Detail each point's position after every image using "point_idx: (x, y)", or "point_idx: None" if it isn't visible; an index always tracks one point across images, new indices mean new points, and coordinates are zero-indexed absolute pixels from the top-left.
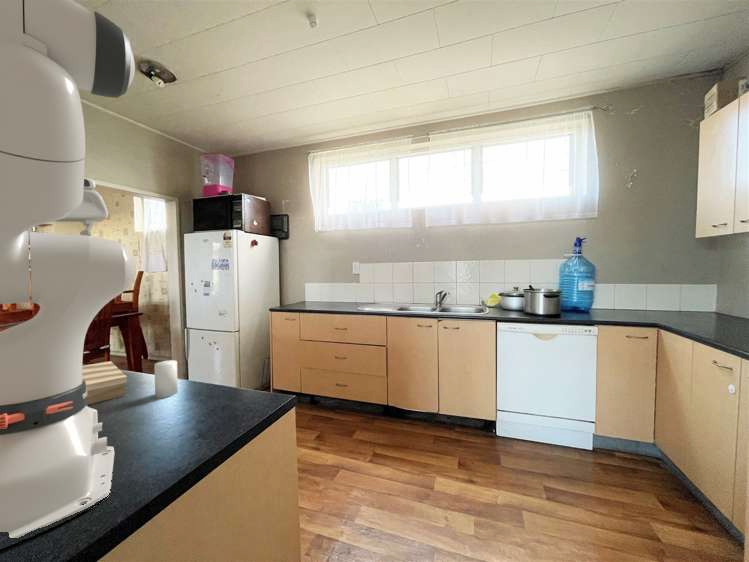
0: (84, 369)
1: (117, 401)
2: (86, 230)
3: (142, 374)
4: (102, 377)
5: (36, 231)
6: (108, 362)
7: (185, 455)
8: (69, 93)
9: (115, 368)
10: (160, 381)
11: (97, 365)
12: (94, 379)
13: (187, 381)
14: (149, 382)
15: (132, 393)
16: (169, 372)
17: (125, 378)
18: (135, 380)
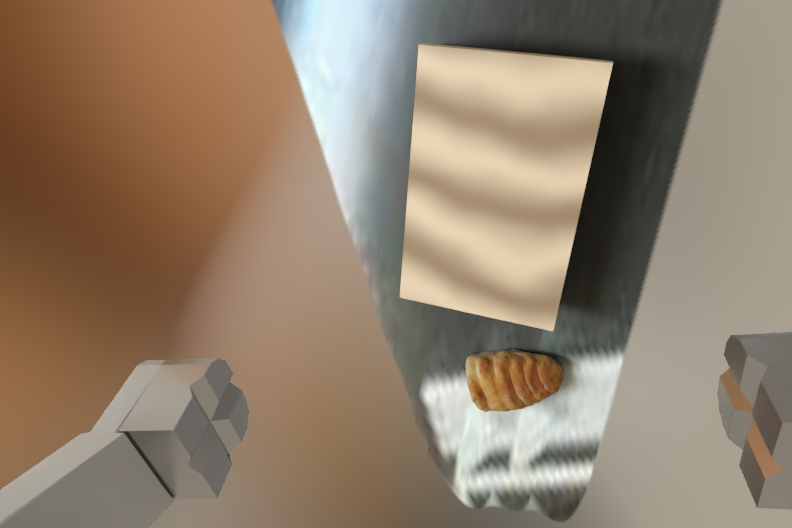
0: (475, 262)
1: (469, 5)
2: (132, 426)
3: (351, 221)
4: (468, 108)
5: (787, 415)
6: (408, 286)
7: None
8: None
9: (414, 189)
10: None
11: (438, 278)
12: (490, 105)
13: (283, 20)
14: (360, 118)
15: None
16: None
17: (424, 44)
18: (380, 177)
